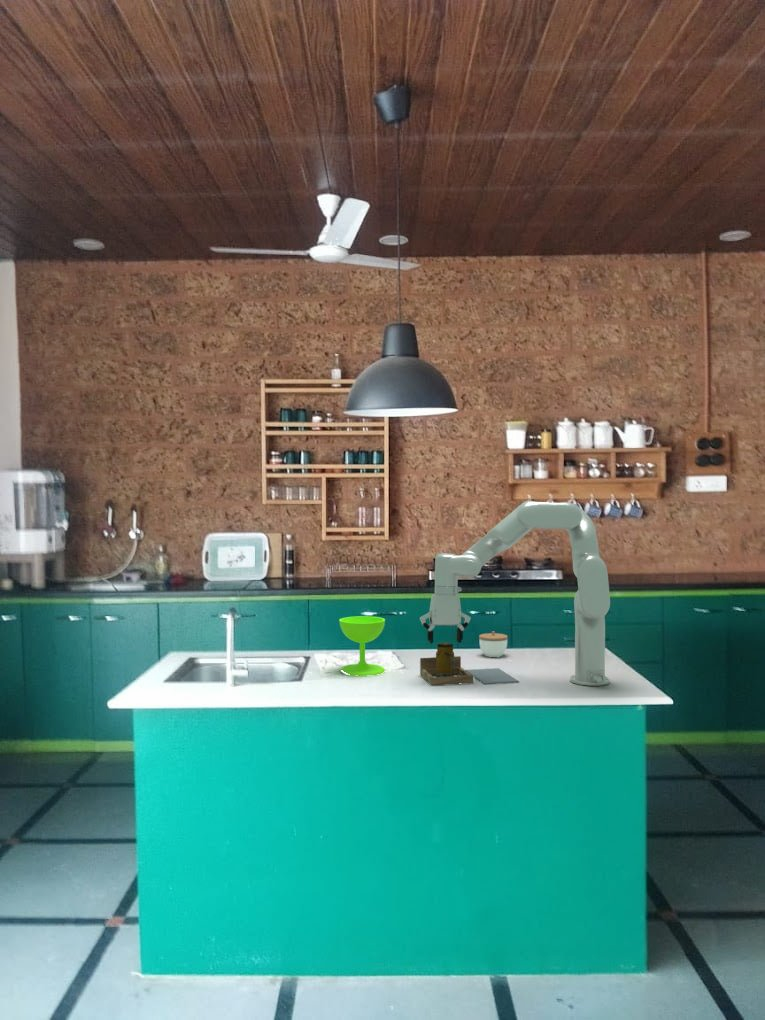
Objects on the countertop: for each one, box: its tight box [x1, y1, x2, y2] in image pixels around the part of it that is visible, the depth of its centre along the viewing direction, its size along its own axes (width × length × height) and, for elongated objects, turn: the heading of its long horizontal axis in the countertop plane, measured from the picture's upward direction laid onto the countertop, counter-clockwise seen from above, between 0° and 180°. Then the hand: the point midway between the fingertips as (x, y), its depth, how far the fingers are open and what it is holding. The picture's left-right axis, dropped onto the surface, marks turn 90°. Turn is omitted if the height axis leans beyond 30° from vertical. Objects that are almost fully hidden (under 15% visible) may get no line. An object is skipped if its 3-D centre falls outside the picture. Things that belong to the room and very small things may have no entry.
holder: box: [419, 655, 474, 686], centre depth 282 cm, size 15×14×6 cm
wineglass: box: [338, 615, 386, 677], centre depth 295 cm, size 16×16×18 cm
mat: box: [465, 667, 520, 685], centre depth 286 cm, size 20×12×1 cm, turn 12°
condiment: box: [435, 642, 455, 677], centre depth 281 cm, size 7×8×12 cm
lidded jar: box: [478, 630, 509, 658], centre depth 320 cm, size 11×11×9 cm
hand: (444, 642), depth 281 cm, fingers open, 9 cm apart
